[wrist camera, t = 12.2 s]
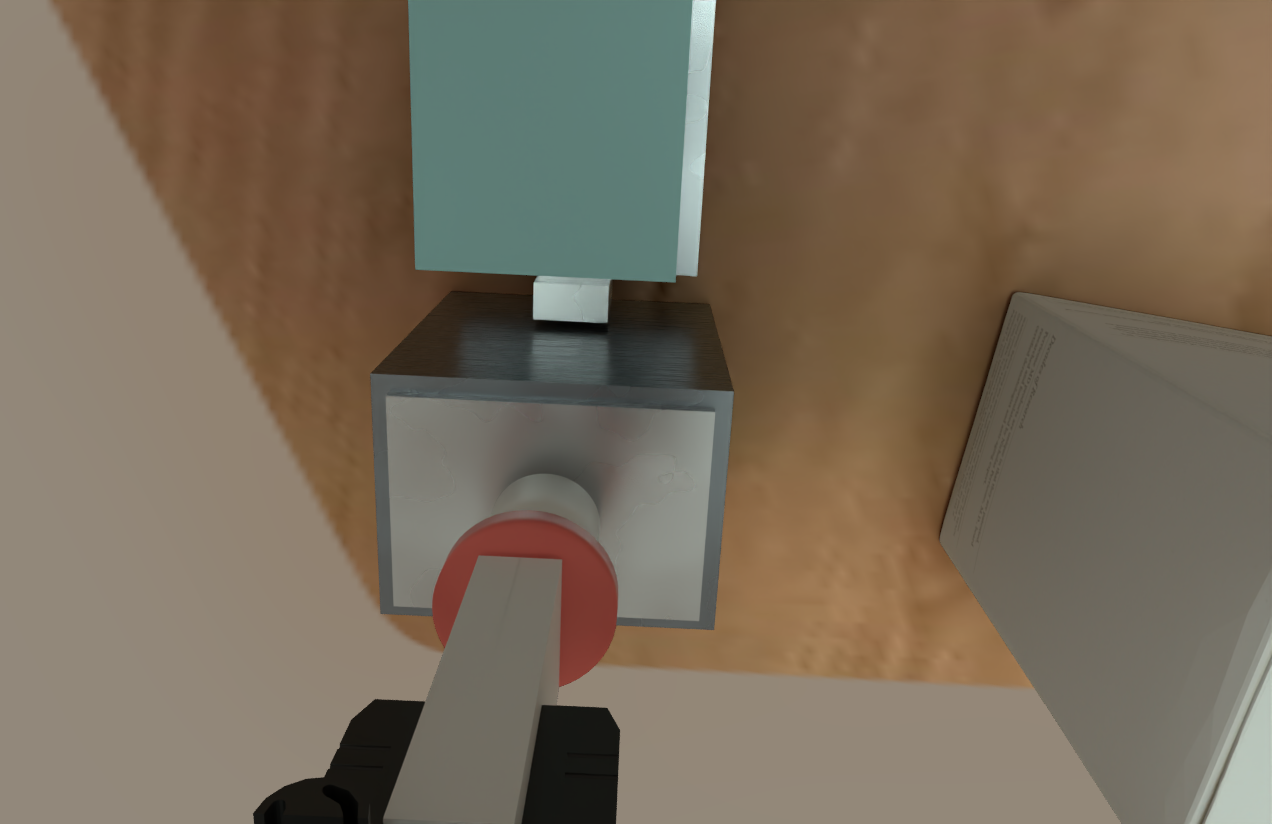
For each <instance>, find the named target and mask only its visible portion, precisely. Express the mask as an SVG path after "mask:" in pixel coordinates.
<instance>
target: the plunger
mask: <svg viewBox="0 0 1272 824" xmlns="http://www.w3.org/2000/svg"><path fill="white" fill-rule="evenodd" d="M599 531H600V518H599V513H598V510H597V507H596V505H595V503H594V501H593V500H592V498H591V497H590V495H589V494H588V493H587V492H586V491H585V490H584V489H583V488H582V487H581V486H580V485H578V484H577V483H575V482H574V481H572V480H570V479H568V478H565V477H562V476H559V475H555V474H533V475H529V476H525V477H523V478H520V479H518V480H517V481H515V482H513V483H512V484H510V485H509V486H508V487H507V488H506V489H505V490H504V491H503V492H502V493H501V494H500V496H499V497H498V499H497V501H496V503H495V506H494V508H493V511H492V514H491V516H490V517H489V518H486V519H484V520H482V521H481V522H479V523H477V524H475V525H474V526H473V527H471V528H470V529H469V530H467V531H466V532H465V533H464V534H463V535H462V536H461V537H460V538H459V539H458V540H457V542H456V543H455V544H454V546H453V547H452V549H451V551H450V553H449V554H448V556H447V558H446V561H445V563H444V565H443V568H442V570H441V572H440V575H439V577H438V580H437V582H436V585H435V588H434V593H433V600H432V613H433V620H434V624H435V629H436V631H437V634H438V636H439V639H440V641H441V642H442V644H443V646H444V648H445V647H446V644H447V641H448V638H449V636H450V633H451V630H452V627H453V625H454V622H455V619H456V616H457V614H458V611H459V608H460V606H461V603H462V600H463V597H464V595H465V592H466V589H467V586H468V584H469V581H470V578H471V575H472V573H473V570H474V567H475V564H476V562H477V559H478V556H479V555H480V556H501V557H522V558H543V559H562V588H561V627H560V666H559V687H561V686H564V685H566V684H569V683H571V682H573V681H575V680H577V679H579V678H580V677H582V676H583V675H584V674H586V673H587V672H589V671H590V670H591V669H592V668H593V667H594V666H595V665H596V664H597V663H598V662H599V661H600V660H601V658H602V657H603V656H604V654H605V653H606V651H607V649H608V648H609V646H610V643H611V641H612V639H613V636H614V632H615V629H616V622H617V610H618V582H617V576H616V572H615V569H614V566H613V564H612V562H611V560H610V558H609V556H608V554H607V553H606V551H605V550H604V548H603V547H602V545H601V544H600V543H599V542H598V540H599Z"/></svg>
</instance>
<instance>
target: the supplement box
mask: <svg viewBox="0 0 1272 824" xmlns="http://www.w3.org/2000/svg"><path fill="white" fill-rule="evenodd" d="M939 541H940V544H941V545H942V547H943V548H944V550H945V551H946V553H947V554H948V556H949V558H950V559H951V561H952V562H953V564H954V565H955V567H956V568H957V570H958V571H959V573H960V574H961V576H962V577H963V579H964V581H965V582H966V584H967V585H968V587H969V588H970V590H971V591H972V593H973V594H974V596H975V597H976V599H977V601H978V602H979V604H980V605H981V607H982V608H983V610H984V611H985V613H986V614H987V616H988V618H989V619H990V621H991V622H992V624H993V625H994V627H995V628H996V630H997V631H998V633H999V634H1000V636H1001V638H1002V639H1003V641H1004V642H1005V644H1006V645H1007V647H1008V648H1009V650H1010V651H1011V653H1012V654H1013V656H1014V657H1015V659H1016V661H1017V662H1018V664H1019V665H1020V667H1021V668H1022V670H1023V671H1024V673H1025V674H1026V676H1027V677H1028V679H1029V680H1030V682H1031V684H1032V685H1033V687H1034V688H1035V690H1036V691H1037V693H1038V694H1039V696H1040V698H1041V699H1042V701H1043V702H1044V704H1045V705H1046V706H1047V708H1048V710H1049V711H1050V712H1051V714H1052V716H1053V717H1054V719H1055V721H1056V722H1057V723H1058V725H1059V727H1060V728H1061V730H1062V731H1063V733H1064V734H1065V736H1066V738H1067V739H1068V741H1069V742H1070V744H1071V745H1072V747H1073V749H1074V750H1075V752H1076V753H1077V755H1078V756H1079V758H1080V760H1081V761H1082V763H1083V764H1084V766H1085V768H1086V769H1087V771H1088V772H1089V774H1090V775H1091V777H1092V778H1093V780H1094V781H1095V783H1096V785H1097V786H1098V787H1099V789H1100V791H1101V792H1102V794H1103V796H1104V797H1105V799H1106V800H1107V802H1108V803H1109V805H1110V806H1111V808H1112V810H1113V811H1114V813H1115V814H1116V816H1117V817H1118V819H1119V820H1120V822H1121V824H1272V336H1266V335H1261V334H1255V333H1250V332H1244V331H1239V330H1233V329H1228V328H1222V327H1217V326H1211V325H1206V324H1200V323H1195V322H1189V321H1184V320H1178V319H1173V318H1167V317H1161V316H1155V315H1150V314H1144V313H1138V312H1133V311H1127V310H1121V309H1116V308H1110V307H1104V306H1098V305H1093V304H1087V303H1081V302H1076V301H1070V300H1064V299H1059V298H1053V297H1048V296H1042V295H1036V294H1031V293H1022V292H1016V293H1015V294H1013V296H1012V299H1011V302H1010V305H1009V308H1008V311H1007V314H1006V318H1005V321H1004V324H1003V327H1002V331H1001V334H1000V337H999V341H998V344H997V348H996V351H995V354H994V358H993V361H992V364H991V368H990V371H989V374H988V377H987V381H986V384H985V387H984V391H983V394H982V397H981V401H980V404H979V407H978V410H977V414H976V417H975V420H974V424H973V427H972V430H971V433H970V437H969V440H968V443H967V446H966V450H965V453H964V456H963V460H962V463H961V466H960V469H959V473H958V476H957V479H956V482H955V486H954V489H953V492H952V496H951V499H950V502H949V506H948V509H947V512H946V516H945V519H944V523H943V526H942V530H941V534H940V539H939Z"/></svg>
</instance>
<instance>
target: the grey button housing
mask: <svg viewBox="0 0 1272 824" xmlns="http://www.w3.org/2000/svg"><path fill="white" fill-rule="evenodd" d="M370 378H371V401H372V424H373V447H374V471H375V494H376V517H377V541H378V564H379V587H380V610H381V614H397V615H417V616H433V613H432V600H433V593H434V588H435V585H436V582H437V580H438V577H439V575H440V572H441V570H442V568H443V565H444V563H445V561H446V558H447V556H448V554H449V553H450V551H451V549H452V547H453V546H454V544H455V543H456V542H457V540H458V539H459V538H460V537H461V536H462V535H463V534H464V533H465V532H466V531H467V530H469V529H470V528H471V527H473V526H474V525H475V524H477V523H479V522H481V521H482V520H484V519H486V518H489V517H490V516H491V514H492V511H493V508H494V506H495V503H496V501H497V499H498V497H499V496H500V494H501V493H502V492H503V491H504V490H505V489H506V488H507V487H508V486H509V485H510V484H512V483H513V482H515V481H517V480H518V479H520V478H523V477H525V476H529V475H533V474H555V475H559V476H562V477H565V478H568V479H570V480H572V481H574V482H575V483H577V484H578V485H580V486H581V487H582V488H583V489H584V490H585V491H586V492H587V493H588V494H589V495H590V497H591V498H592V500H593V501H594V503H595V505H596V507H597V510H598V513H599V518H600V531H599V540H598V542H599V543H600V544H601V545H602V547H603V548H604V550H605V551H606V553H607V554H608V556H609V558H610V560H611V562H612V564H613V566H614V569H615V572H616V576H617V582H618V610H617V622H616V625H623V626H643V627H664V628H684V629H705V630H714V624H715V612H716V600H717V588H718V576H719V564H720V552H721V540H722V528H723V516H724V505H725V493H726V481H727V469H728V457H729V445H730V433H731V421H732V409H733V397H734V390H733V386H732V383H731V379H730V375H729V372H728V368H727V365H726V361H725V357H724V354H723V350H722V347H721V343H720V339H719V336H718V332H717V328H716V325H715V321H714V318H713V314H712V310H711V307H710V304H696V303H676V302H655V301H635V300H615V299H612V301H611V306H610V312H609V318H608V323H594V322H574V321H554V320H534V319H533V295H514V294H494V293H473V292H453V291H451V292H450V293H449V294H448V295H447V296H446V297H445V298H444V299H443V300H442V301H441V302H440V303H439V304H438V305H437V306H436V307H435V308H434V309H433V310H432V311H431V312H430V313H429V314H428V315H427V316H426V317H425V318H424V319H423V320H422V321H421V322H420V323H419V324H418V325H417V326H416V327H415V328H414V329H413V330H412V332H411V333H410V334H409V335H408V336H407V337H406V338H405V339H404V340H403V341H402V342H401V343H400V344H399V345H398V346H397V347H396V348H395V349H394V350H393V351H392V352H391V353H390V354H389V355H388V356H387V357H386V358H385V359H384V360H383V361H382V362H381V363H380V364H379V365H378V366H377V367H376V368H375V369H374V370H373V371H372V372H371V373H370Z"/></svg>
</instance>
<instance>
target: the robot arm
mask: <svg viewBox="0 0 1272 824" xmlns="http://www.w3.org/2000/svg"><path fill="white" fill-rule="evenodd" d="M561 588H562V559H543V558H522V557H501V556H480V555H479V556H478V559H477V562H476V564H475V567H474V570H473V573H472V575H471V578H470V581H469V584H468V586H467V589H466V592H465V595H464V597H463V600H462V603H461V606H460V608H459V611H458V614H457V616H456V619H455V622H454V625H453V627H452V630H451V633H450V636H449V638H448V641H447V644H446V647H445V649H444V652H443V655H442V658H441V661H440V663H439V666H438V669H437V672H436V674H435V677H434V680H433V682H432V685H431V688H430V691H429V694H428V696H427V699H426V702H423V701H402V700H400V701H399V700H379V699H375V700H374V701H372V702H371V703H370V704H369V705H368V706H367V707H366V708H364V709H363V710H362V711H361V712H360V713H359V714H358V715H356V716H355V717H354V718H353V719H352V720H351V722H350V724H349V726H348V728H347V730H346V732H345V734H344V736H343V738H342V741H341V743H340V748H339V749H337V752H336V754H335V756H334V758H333V760H332V762H331V764H330V769H328V770H327V772H326V775H325V777H323V778H311V779H305V780H302V781H299V782H296V783H293V784H290V785H287V786H284V787H283V788H281V789H279V790H278V791H276V792H275V793H273V794H272V795H270V796H269V797H267V798H266V799H265V800H264V801H263V802H262V803H261V805H260V806H259V807H258V808H257V809H256V811H255V812H254V813H253V816H254V824H616V810H617V808H616V807H617V785H618V764H619V763H618V762H619V740H620V729H619V728H618V726H617V724H616V722H615V721H614V719H613V717H612V715H611V714H610V712H609V710H608V708H599V707H598V708H597V707H577V706H557V699H558V692H559V666H560V627H561Z"/></svg>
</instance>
